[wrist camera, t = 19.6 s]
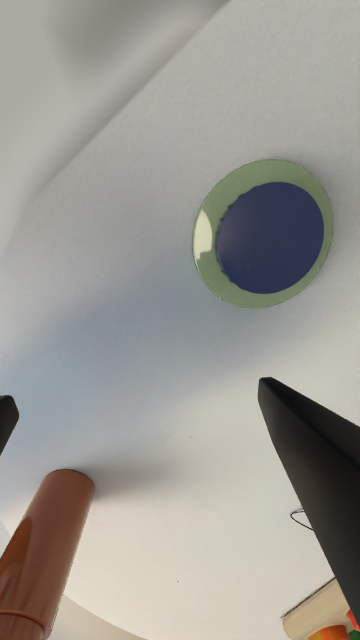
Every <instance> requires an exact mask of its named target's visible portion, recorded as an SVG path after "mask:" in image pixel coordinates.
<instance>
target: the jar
mask: <svg viewBox="0 0 360 640" xmlns="http://www.w3.org/2000/svg"><path fill="white" fill-rule="evenodd" d="M94 493H95V487H94V484H93V482H92V481H91V480H90V479H89V478H88V477H87V476H85V475H83V474H82V473H79V472H76V471H72V470H58V471H54V472H52V473H50V474H48V475H47V476H46V477H45V478H44V479H43V481H42V483H41V484H40V486H39V488H38V490H37V492H36V494H35V495H34V497H33V499H32V501H31V503H30V505H29V507H28V508H27V510H26V512H25V514H24V516H23V518H22V519H21V521H20V523H19V525H18V527H17V529H16V531H15V532H14V534H13V536H12V538H11V540H10V542H9V544H8V545H7V548H6V549H5V551H4V553H3V555H2V556H1V558H0V640H46V639H47V638H48V637H49V636H50V634H51V631H52V627H53V625H54V621H55V618H56V615H57V612H58V609H59V605H60V602H61V599H62V596H63V593H64V589H65V586H66V583H67V580H68V577H69V573H70V570H71V567H72V564H73V560H74V557H75V554H76V551H77V548H78V544H79V541H80V538H81V535H82V532H83V528H84V525H85V522H86V519H87V516H88V512H89V509H90V506H91V503H92V500H93V496H94Z"/></svg>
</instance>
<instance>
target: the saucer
mask: <svg viewBox="0 0 360 640" xmlns="http://www.w3.org/2000/svg"><path fill="white" fill-rule="evenodd" d="M269 182H286V183H291V184H294V185H297V186H299V187H301V188H302V189H304V190H305V191H307V192H308V193H309V194H310V195H311V196H312V197H313V198H314V200H315V201H316V202H317V204H318V206H319V208H320V211H321V213H322V217H323V222H324V239H323V244H322V248H321V251H320V253H319V256H318V258H317V260H316V262H315V263H314V265H313V266H312V268H311V269H310V271H309V272H308V273H307V274H306V275H305V276H304V277H303V278H302V279H301V280H300V281H298V282H297V283H296V284H294V285H293V286H291V287H289V288H287V289H285V290H283V291H280V292H276V293H271V294H256V293H255V294H254V293H251V292H248V291H246V290H242V289H240V288H239V287H238V286H237V285H236V284H234V283H231V282H230V281H229V279H228V278H227V277H226V276H225V274H223V273H222V272H221V268H220V266H219V264H218V262H217V261H216V259H217V258H216V254H215V248H214V246H215V236H216V234H215V232H216V231H217V228H218V225H219V222H220V220H219V219H220V218H222V216H223V214H224V213H225V211H226V210H227V209H228V208H227V207H228V206H229V205H231V204H232V203H233V202H234V201H235V200H236V199H237V198H238V196H239V195H241V194H242V193H246V192H248V191H249V190H251V188H253V187H255V186H256V185H257V186H259V185H262V184H265V183H269ZM332 233H333V215H332V210H331V205H330V202H329V199H328V196H327V194H326V192H325V190H324V188H323V187H322V186H321V184H320V183H319V181H318V180H317V179H316V178H315V177H314V176H313V175H312V174H311V173H310V172H308V171H307V170H305V169H304V168H302V167H300V166H298V165H296V164H294V163H291V162H288V161H283V160H276V159H274V160H261V161H255V162H252V163H249V164H246V165H244V166H242V167H240V168H238V169H236V170H234V171H233V172H231V173H230V174H228V175H227V176H226V177H225V178H223V179H222V180H221V181H220V182H219V183H218V184H217V185H216V186H215V187H214V189H213V190H212V191H211V192H210V193H209V195H208V196H207V198H206V199H205V201H204V202H203V204H202V206H201V208H200V210H199V212H198V215H197V218H196V221H195V225H194V229H193V237H192V249H193V257H194V261H195V264H196V267H197V270H198V272H199V274H200V276H201V277H202V279H203V281H204V282H205V284H206V285H207V286H208V287H209V289H210V290H211V291H212V292H213V293H214V294H215V295H217V296H218V297H220V298H221V299H222V300H224V301H226V302H228V303H230V304H233V305H236V306H240V307H244V308H263V307H269V306H273V305H276V304H279V303H281V302H284V301H286V300H288V299H289V298H291V297H293V296H294V295H296V294H297V293H299V292H300V291H301V290H302V289H303V288H305V287H306V286H307V285H308V284H309V283H310V282H311V280H312V279H313V278H314V277H315V275H316V274H317V273H318V271H319V270H320V268H321V266H322V265H323V263H324V261H325V258H326V256H327V254H328V251H329V248H330V244H331V239H332Z"/></svg>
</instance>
